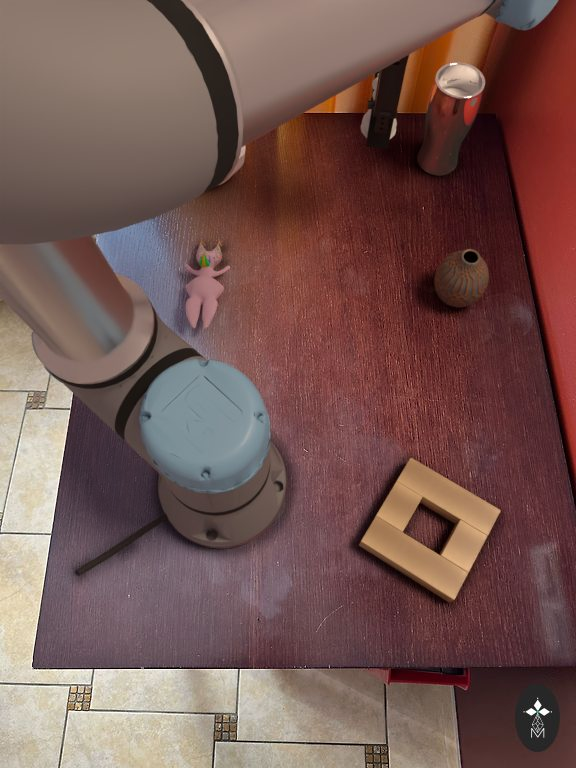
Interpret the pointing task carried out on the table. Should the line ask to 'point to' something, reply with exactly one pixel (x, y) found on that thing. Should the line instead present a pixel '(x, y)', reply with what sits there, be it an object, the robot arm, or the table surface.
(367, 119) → the rook chess piece
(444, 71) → the chrome pint tumbler
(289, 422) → the table surface
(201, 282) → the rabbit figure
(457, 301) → the vase
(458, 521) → the square wooden frame
